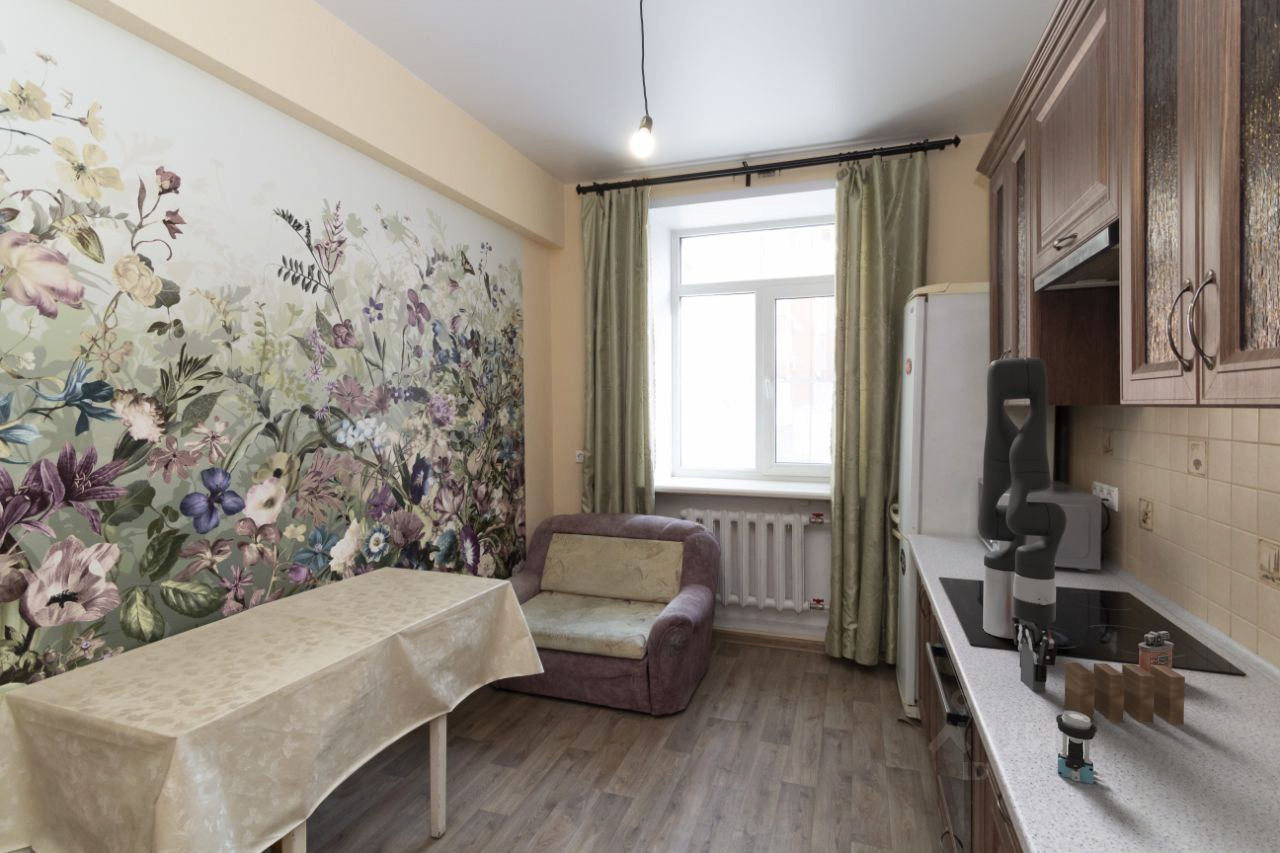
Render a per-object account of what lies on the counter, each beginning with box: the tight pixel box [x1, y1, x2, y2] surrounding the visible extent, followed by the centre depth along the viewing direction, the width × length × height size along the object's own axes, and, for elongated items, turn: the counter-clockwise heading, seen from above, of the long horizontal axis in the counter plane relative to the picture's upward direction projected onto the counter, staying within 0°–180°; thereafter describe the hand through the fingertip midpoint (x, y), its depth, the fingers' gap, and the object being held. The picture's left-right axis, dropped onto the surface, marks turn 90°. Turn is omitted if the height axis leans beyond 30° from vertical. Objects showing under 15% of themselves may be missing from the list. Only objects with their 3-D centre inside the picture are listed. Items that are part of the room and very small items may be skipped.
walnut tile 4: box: [1063, 661, 1095, 722], centre depth 117 cm, size 2×5×9 cm, turn 174°
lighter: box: [1137, 630, 1175, 674], centre depth 131 cm, size 8×3×10 cm, turn 105°
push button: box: [1055, 710, 1107, 785], centre depth 97 cm, size 7×5×10 cm
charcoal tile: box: [1020, 641, 1046, 693], centre depth 128 cm, size 2×5×9 cm, turn 174°
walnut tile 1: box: [1151, 665, 1186, 725], centre depth 115 cm, size 2×5×9 cm, turn 174°
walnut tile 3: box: [1093, 662, 1125, 723], centre depth 116 cm, size 2×5×9 cm, turn 174°
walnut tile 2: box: [1121, 663, 1155, 724], centre depth 116 cm, size 2×5×9 cm, turn 174°
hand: (1032, 674), depth 128 cm, fingers closed on charcoal tile, 5 cm apart
